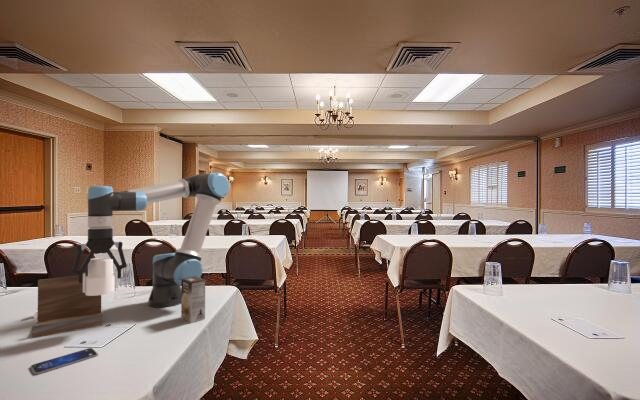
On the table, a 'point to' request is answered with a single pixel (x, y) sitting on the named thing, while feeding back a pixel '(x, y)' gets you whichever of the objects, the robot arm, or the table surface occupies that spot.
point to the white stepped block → (100, 277)
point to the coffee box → (193, 299)
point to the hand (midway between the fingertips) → (100, 289)
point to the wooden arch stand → (65, 307)
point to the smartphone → (62, 361)
